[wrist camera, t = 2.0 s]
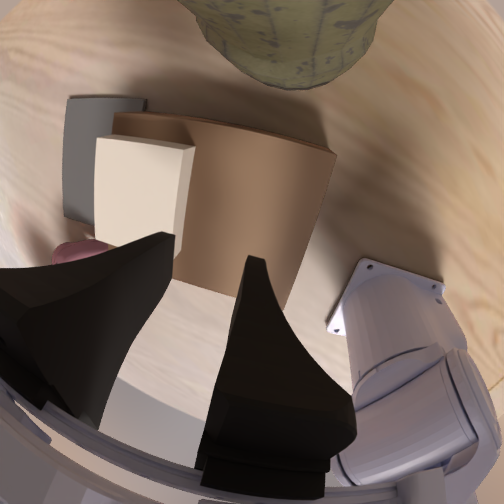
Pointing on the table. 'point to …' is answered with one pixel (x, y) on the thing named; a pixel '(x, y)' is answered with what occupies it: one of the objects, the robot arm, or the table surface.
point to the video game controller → (78, 250)
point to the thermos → (289, 36)
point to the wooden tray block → (240, 198)
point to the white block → (140, 188)
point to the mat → (87, 149)
